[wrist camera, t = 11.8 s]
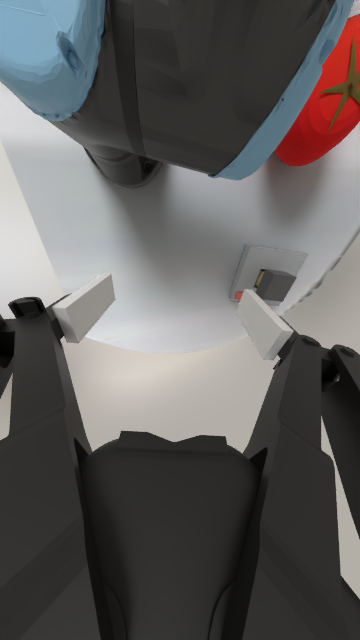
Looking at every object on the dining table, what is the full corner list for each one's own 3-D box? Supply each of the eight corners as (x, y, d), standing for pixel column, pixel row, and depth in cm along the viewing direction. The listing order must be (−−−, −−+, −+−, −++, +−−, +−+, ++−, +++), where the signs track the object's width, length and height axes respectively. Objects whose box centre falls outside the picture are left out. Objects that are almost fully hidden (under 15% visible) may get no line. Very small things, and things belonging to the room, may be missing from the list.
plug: (256, 263, 39) (274, 274, 31) (274, 266, 39) (296, 277, 31) (248, 285, 42) (262, 299, 35) (264, 287, 42) (282, 301, 35)
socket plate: (245, 244, 36) (251, 247, 33) (299, 251, 37) (310, 254, 34) (228, 296, 44) (232, 302, 41) (273, 301, 45) (280, 307, 42)
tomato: (265, 186, 30) (299, 172, 21) (255, 100, 24) (297, 34, 15) (333, 148, 27) (405, 114, 18) (341, 39, 21) (452, -86, 12)
